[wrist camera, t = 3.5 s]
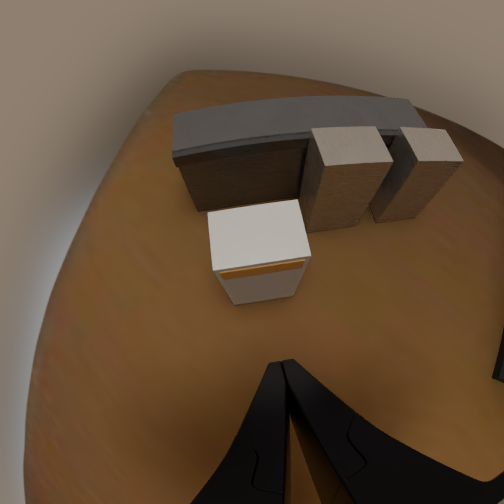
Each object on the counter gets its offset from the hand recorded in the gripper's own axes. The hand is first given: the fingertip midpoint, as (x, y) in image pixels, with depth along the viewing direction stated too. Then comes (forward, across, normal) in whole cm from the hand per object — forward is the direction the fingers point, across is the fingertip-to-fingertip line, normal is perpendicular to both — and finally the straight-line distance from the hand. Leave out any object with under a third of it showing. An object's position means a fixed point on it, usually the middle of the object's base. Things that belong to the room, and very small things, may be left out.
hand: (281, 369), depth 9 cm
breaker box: (+18, +5, +1) cm, 19 cm away
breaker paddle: (+12, 0, -4) cm, 13 cm away
